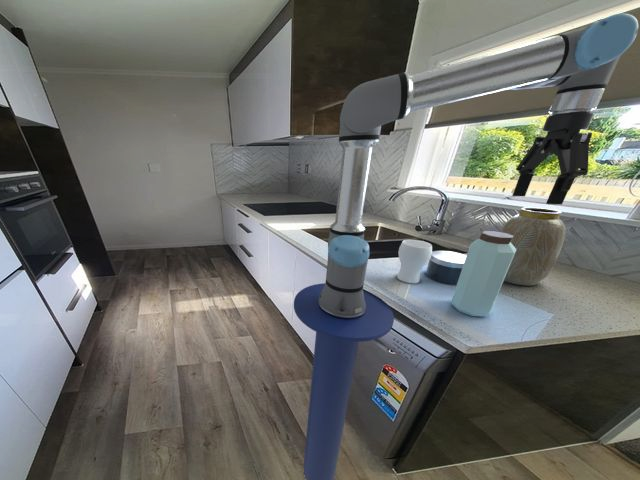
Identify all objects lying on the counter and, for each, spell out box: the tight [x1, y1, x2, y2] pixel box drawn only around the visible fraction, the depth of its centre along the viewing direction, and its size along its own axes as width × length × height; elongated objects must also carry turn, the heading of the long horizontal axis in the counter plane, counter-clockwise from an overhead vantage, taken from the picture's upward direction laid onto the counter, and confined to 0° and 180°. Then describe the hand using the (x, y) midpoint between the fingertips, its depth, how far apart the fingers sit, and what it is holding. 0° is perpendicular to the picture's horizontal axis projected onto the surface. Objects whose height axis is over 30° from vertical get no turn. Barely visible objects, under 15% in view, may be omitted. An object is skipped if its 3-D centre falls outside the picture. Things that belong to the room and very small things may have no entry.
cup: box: [396, 239, 433, 284], centre depth 94 cm, size 11×11×15 cm
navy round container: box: [425, 250, 467, 286], centre depth 96 cm, size 13×13×9 cm
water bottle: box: [450, 230, 517, 318], centre depth 73 cm, size 10×10×25 cm
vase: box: [499, 207, 567, 287], centre depth 91 cm, size 17×17×27 cm
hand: (534, 199), depth 68 cm, fingers open, 13 cm apart
